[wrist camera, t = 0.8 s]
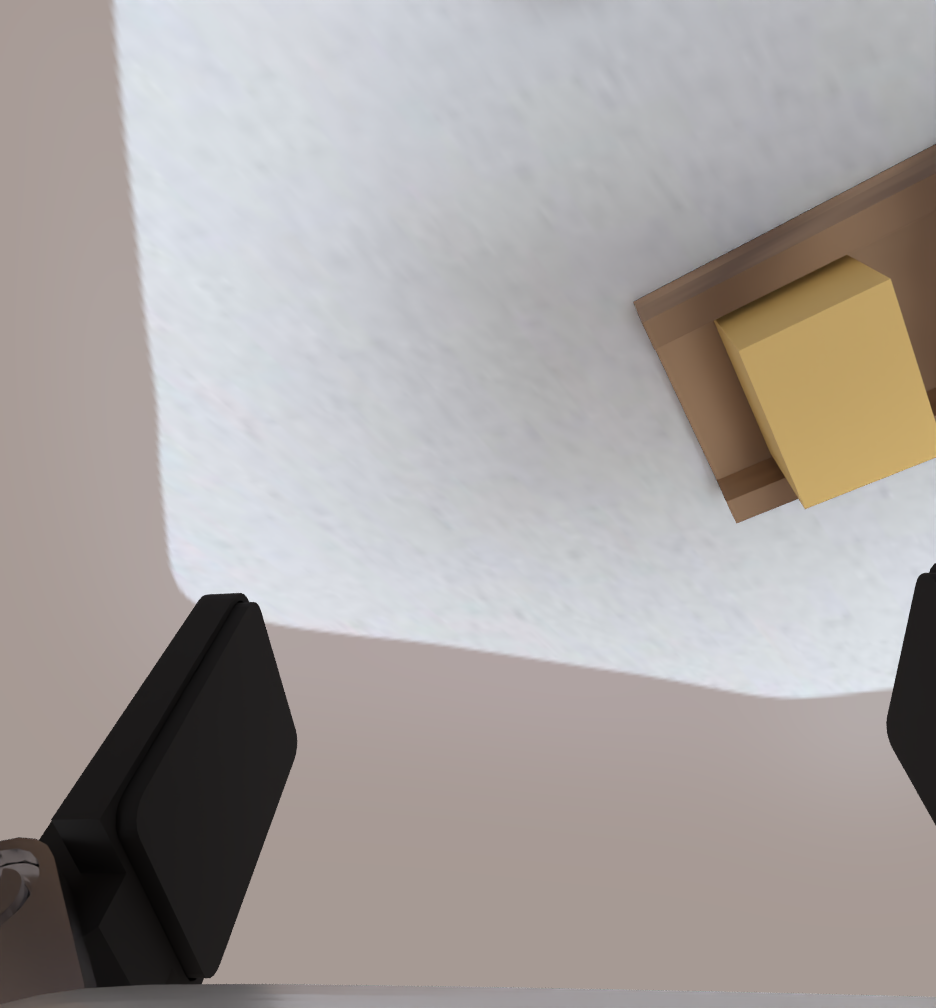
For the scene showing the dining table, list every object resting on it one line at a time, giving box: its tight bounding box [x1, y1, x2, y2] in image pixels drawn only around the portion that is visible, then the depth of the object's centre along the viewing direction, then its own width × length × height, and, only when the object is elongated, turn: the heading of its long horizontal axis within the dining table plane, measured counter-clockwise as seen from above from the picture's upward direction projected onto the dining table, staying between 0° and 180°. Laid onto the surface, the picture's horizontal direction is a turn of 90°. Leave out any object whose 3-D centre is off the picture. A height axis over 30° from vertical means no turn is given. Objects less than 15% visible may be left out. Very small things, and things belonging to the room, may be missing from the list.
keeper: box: [714, 255, 936, 509], centre depth 28 cm, size 5×7×5 cm
